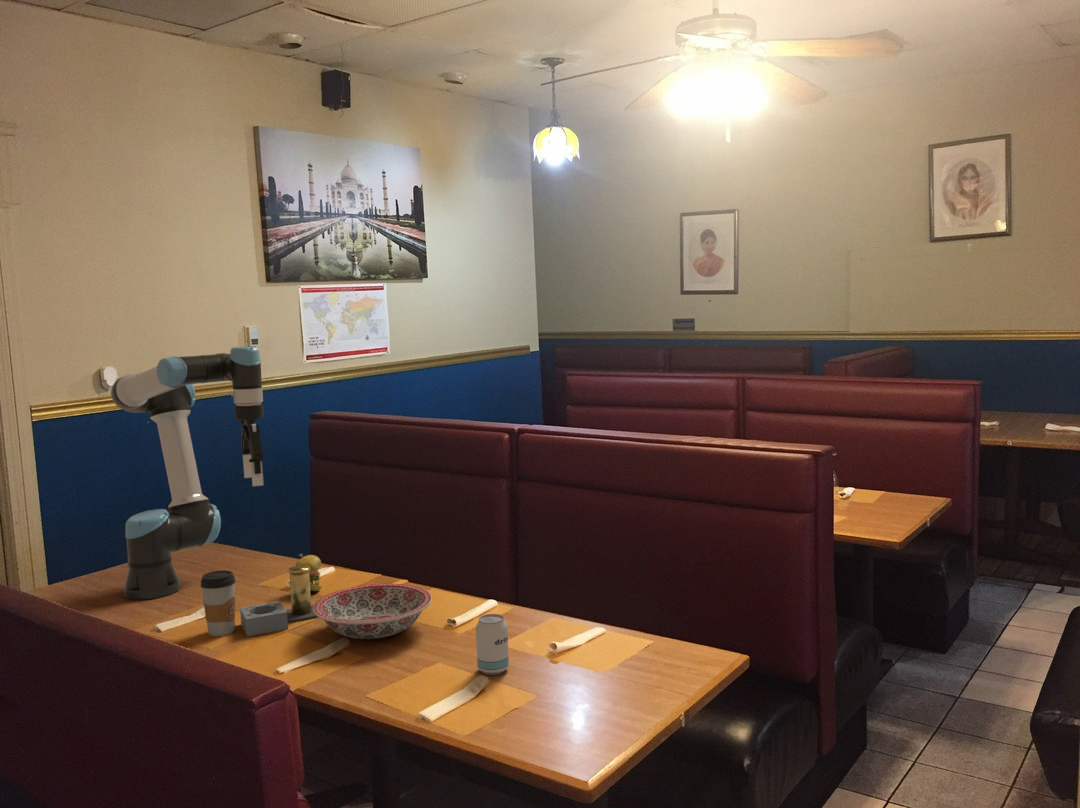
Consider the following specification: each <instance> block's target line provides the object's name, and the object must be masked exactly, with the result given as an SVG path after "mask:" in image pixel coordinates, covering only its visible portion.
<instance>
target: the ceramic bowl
mask: <svg viewBox="0 0 1080 808" xmlns="http://www.w3.org/2000/svg"><path fill="white" fill-rule="evenodd" d="M432 600H433V599H432V594H431V593H430V592H429V591H428V590H426V589H424V588H421V587H418V586H415V585H411V584H402V583H372V584H363V585H357V586H352V587H347V588H343V589H340V590H336V591H333V592H331V593H329V594H326V595H325V596H322V597H321V598H319V599H318V600H317V601H316V602H315V603H314V604H313V605H314V606H313V612H314V614H315V615H316V616H317V617H318V618H319V619H321V620H323V621H324V623H325V624H326V625H327V626H328V627H329V628H330V629H331V630H333V631H334V632H335V633H337V634H340V635H341V636H344V637H347V638H351V639H359V640H374V639H381V638H386V637H391V636H395V635H396V634H399V633H401V632H403V631H405V630H406V629H408V628H409V627H411V626H412V625H413V624H414V623H415V622H416V621H417V620H418V619H419V618H420V616H421V614H422V613H423V611H425V609H427V608H428V607H429V606H430V604H431V603H432Z"/></svg>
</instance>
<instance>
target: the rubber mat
mask: <svg viewBox="0 0 1080 808" xmlns="http://www.w3.org/2000/svg"><path fill="white" fill-rule="evenodd" d="M313 606H314V604H311V612H310V613H308V614H305V615H293V614H292V608H288V609H285V610H286V611H287V620H288V624H290V623H295V622H300V621H306V620H307V621H308V620H311V619H317V618H319V617H317V616H316V615H315V614H314V612H313Z"/></svg>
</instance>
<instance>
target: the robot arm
mask: <svg viewBox="0 0 1080 808" xmlns="http://www.w3.org/2000/svg"><path fill="white" fill-rule="evenodd" d="M260 357H261V356H260V350H259V347H257V346H235V347H231V348H230V353H225V352H221V353H214V354H202V355H190V356H189V355H187V356H170V357H169V356H168V357H164V358H161V359H160V360H158V363H157V366H154V367H152V368H150V369H147V370H145V371H143V372H140V373H132V374H131V373H130V374H126V375H123V376H121V377H120V378H117V379H116V380H115V381H114V383H113V384H112V385H111V390H110V396H111V400H112V402H113V403H114V404H115V406H116V407H118V408H119V409H121V410H123V411H125V412H127V413H135V414H137V413H138V414H141V413H142V414H143V413H149V414H148V415H149V418H150V420H152V421H153V422H154V423H155V424H156V425H157V430H158V431H157V432H158V436H159V440H160V445H161V450H162V451H161V452H162V456H163V460H164V466H165V471H166V476H167V481H168V486H169V491H170V495H171V502H170V503H169V504H168V507H167V508H168V509H165V508H155V509H149V510H148V509H147V510H145V511H142V512H139V513H136V514H133V515H132V516H130V517H129V518H128V519H127V520H126V522H125V533H124V536H125V541H126V553H127V554H126V555H127V563H128V564H127V566H128V571H127V574H126V578H125V581H124V585H123V595H124V598H126V599H130V600H150V599H157V598H162V597H166V596H170V595H172V594H175V593H176V592H178V591H179V590H180V589H181V580H180V578H179V576H178V573H177V571H176V569H175V567H174V565H173V562H172V560H173V559H172V552H173V553H174V552H178V551H181V550H186V549H192V548H195V547H196V548H197V547H203V546H205V545H207V544H210V543H213V542H214V541H215V540H216V539H217V538H218V536H219V534H220V531H221V525H222V523H221V522H222V520H221V519H222V518H221V515H220V510H219V509H218V507H217V506H216V505H215V504H212V503H210V500H209V498H208V497H207V496H205V495H204V494H203V491H202V487H201V482H200V477H199V472H198V467H197V462H196V457H195V453H194V452H195V451H194V449H193V448H194V447H193V441H192V438H191V437H192V436H191V432H190V427H189V424H188V423H189V422H188V417H189V415H190V414H191V408H192V407H193V406H194V405H195V402H196V390H195V387H194V385H197V384H206V383H207V384H208V383H210V384H211V383H218V382H219V383H220V382H232V392H231V393H230V396H231V397H233V404H235V406H234V407H233V413H234V414H233V415H234V419H235V420H237V421H238V420H239V421H240V424H241V431H240V433H241V439H240V440H241V441H240V442H241V443H240V444H241V445H240V450H241V453H242V463H243V475H244V476H243V477H244V479H249V478H251V481H252V482H251V484H252V487H259V486H260V487H261V486H264V473H263V472H264V471H263V470H264V469H263V460H264V455H263V448H262V441H261V435H260V424H259V423H257V422H256V421H257V419H262V418H264V416H265V413H264V412H265V409H264V405H263V401H264V396H263V395H264V394H263V386H262V385H263V384H262V383H263V381H262V363H261V362H262V360H261V358H260Z"/></svg>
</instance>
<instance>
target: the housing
mask: <svg viewBox="0 0 1080 808" xmlns="http://www.w3.org/2000/svg"><path fill="white" fill-rule="evenodd" d="M286 610H287V609H285V607H284V605H283V604H282V603H281V601H280V600H276V601H272V602H265V603H259V604H253V605H248V606H242V607H239V612H240V613H239V615H240V625H241V627H242V629H243V631H244V633H245V635H246V637H253V636H258V635H259V636H260V635H264V634H270V633H274V632H279V631H284V630H289V623H288V620H287V611H286Z"/></svg>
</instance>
